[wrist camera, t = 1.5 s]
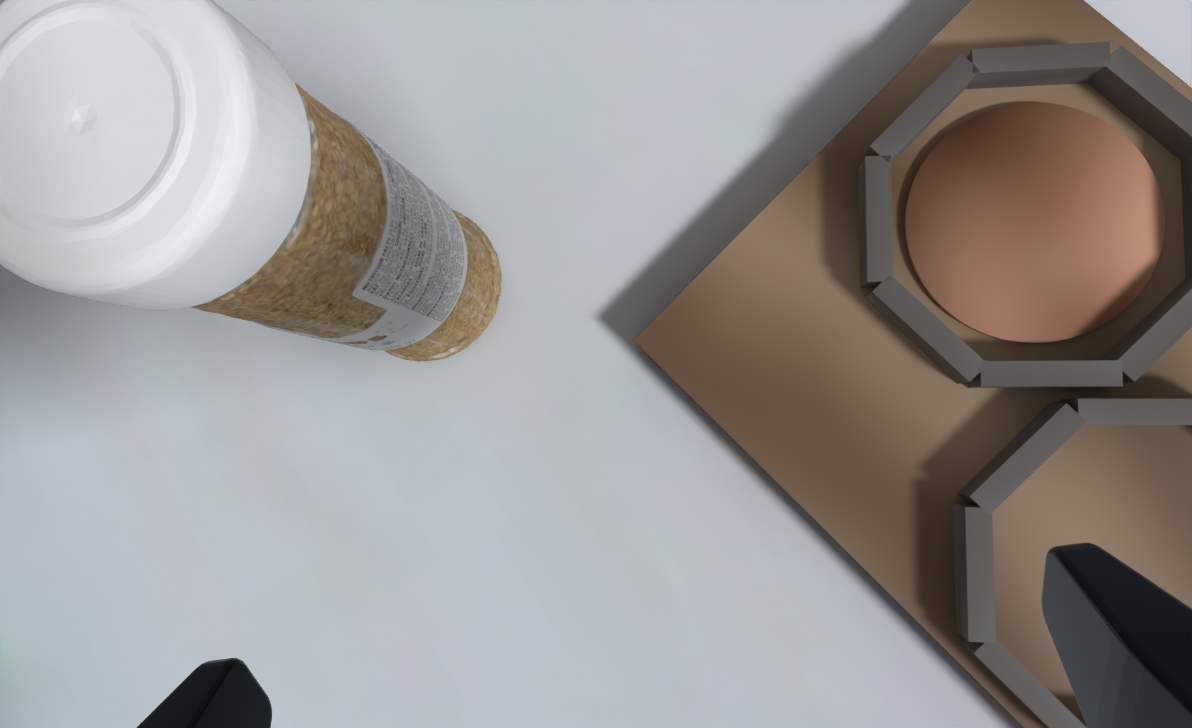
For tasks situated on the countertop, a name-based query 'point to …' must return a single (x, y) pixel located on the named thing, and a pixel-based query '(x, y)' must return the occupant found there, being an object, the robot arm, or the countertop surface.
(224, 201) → the sprinkles bottle
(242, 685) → the robot arm
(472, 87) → the countertop surface
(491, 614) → the countertop surface
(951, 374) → the board
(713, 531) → the countertop surface
